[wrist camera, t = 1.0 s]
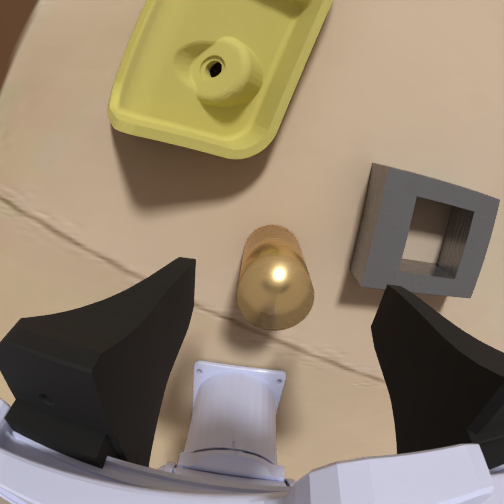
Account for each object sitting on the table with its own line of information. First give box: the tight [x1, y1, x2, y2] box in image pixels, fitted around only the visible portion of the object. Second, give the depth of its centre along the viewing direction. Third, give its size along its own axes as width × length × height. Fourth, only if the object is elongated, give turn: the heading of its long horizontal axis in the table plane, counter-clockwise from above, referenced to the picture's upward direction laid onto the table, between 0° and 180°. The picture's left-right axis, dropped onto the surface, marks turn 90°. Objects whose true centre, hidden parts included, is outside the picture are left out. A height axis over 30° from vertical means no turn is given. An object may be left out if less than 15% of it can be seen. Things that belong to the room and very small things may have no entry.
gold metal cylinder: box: [237, 225, 314, 330], centre depth 20 cm, size 4×4×7 cm
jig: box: [350, 163, 500, 298], centre depth 21 cm, size 8×10×3 cm
